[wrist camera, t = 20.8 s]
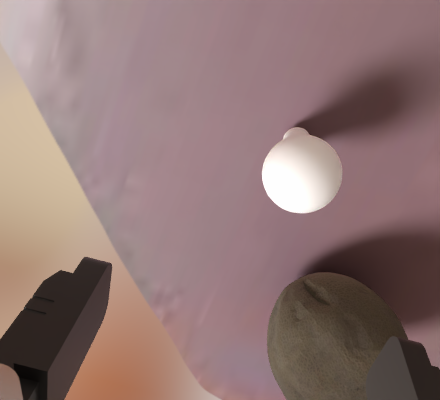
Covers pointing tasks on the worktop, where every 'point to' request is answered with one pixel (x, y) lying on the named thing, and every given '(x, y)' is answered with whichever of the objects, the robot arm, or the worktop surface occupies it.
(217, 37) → the worktop surface
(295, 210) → the lightbulb
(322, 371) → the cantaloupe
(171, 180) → the worktop surface
